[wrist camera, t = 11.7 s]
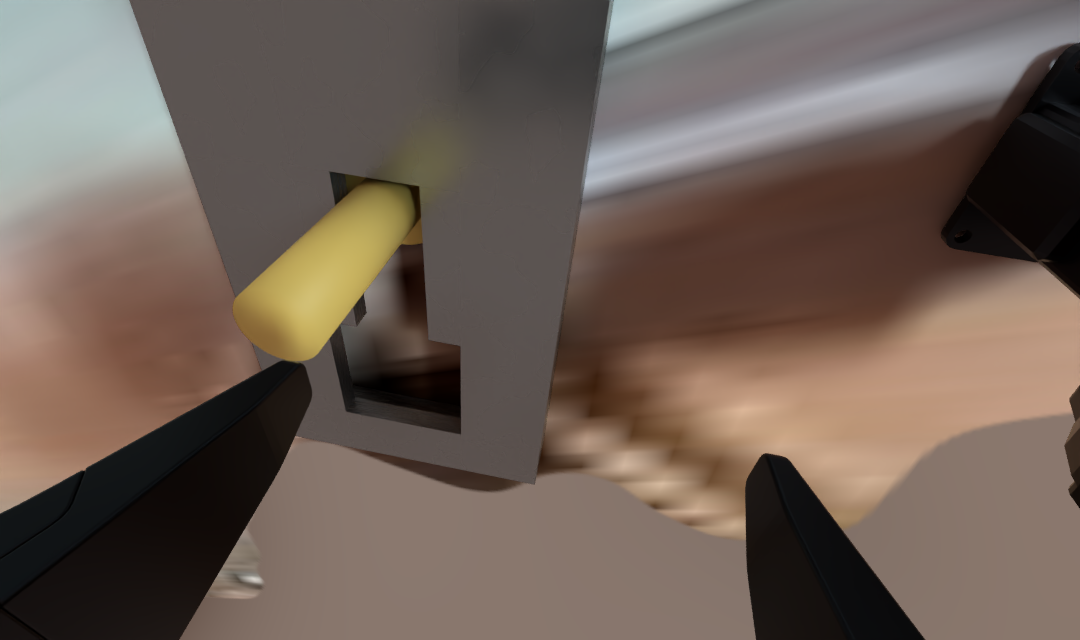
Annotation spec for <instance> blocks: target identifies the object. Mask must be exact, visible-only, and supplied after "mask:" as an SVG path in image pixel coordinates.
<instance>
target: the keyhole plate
mask: <svg viewBox="0 0 1080 640" xmlns="http://www.w3.org/2000/svg"><path fill="white" fill-rule="evenodd" d="M613 1H614V0H130V3H131V6H132V9H133V12H134V14H135V17H136V20H137V23H138V26H139V28H140V31H141V34H142V37H143V40H144V42H145V45H146V48H147V51H148V54H149V56H150V59H151V62H152V65H153V68H154V70H155V73H156V76H157V79H158V82H159V84H160V87H161V90H162V93H163V96H164V98H165V101H166V104H167V107H168V110H169V112H170V115H171V118H172V121H173V123H174V126H175V129H176V132H177V135H178V137H179V140H180V143H181V146H182V149H183V151H184V154H185V157H186V160H187V163H188V165H189V168H190V171H191V174H192V177H193V179H194V182H195V185H196V188H197V191H198V193H199V196H200V199H201V202H202V205H203V207H204V210H205V213H206V216H207V219H208V221H209V224H210V227H211V230H212V233H213V235H214V238H215V241H216V244H217V247H218V249H219V252H220V255H221V258H222V260H223V263H224V266H225V269H226V272H227V274H228V277H229V280H230V283H231V286H232V288H233V291H234V294H235V297H237V296H238V295H239V294H240V293H241V292H242V291H243V290H244V289H245V288H247V287H248V286H249V285H250V284H251V283H252V282H253V281H254V280H255V279H256V278H257V277H259V276H260V275H261V274H262V273H263V272H264V271H265V270H266V269H267V268H268V267H269V266H270V265H272V264H273V263H274V262H275V261H276V260H277V259H278V258H279V257H280V256H281V255H282V254H283V253H285V252H286V251H287V250H288V249H289V248H290V247H291V246H292V245H293V244H294V243H295V242H297V241H298V240H299V239H300V238H301V237H302V236H303V235H304V234H305V233H306V232H307V231H308V230H310V229H311V228H312V227H313V226H314V225H315V224H316V223H317V222H318V221H319V220H320V219H321V218H323V217H324V216H325V215H326V214H327V213H328V212H329V211H330V210H331V209H332V208H333V207H334V206H336V205H337V204H338V203H339V202H340V201H341V200H342V199H343V198H344V197H345V196H346V195H348V191H347V185H346V178H345V174H349V175H355V176H361V177H367V178H373V179H379V180H385V181H391V182H397V183H403V184H409V185H415V186H419V189H420V206H421V222H422V239H423V256H424V272H425V289H426V306H427V322H428V339H429V340H431V341H436V342H442V343H447V344H452V345H458V346H461V406H457V405H452V404H447V403H442V402H437V401H432V400H426V399H421V398H416V397H411V396H406V395H401V394H396V393H390V392H385V391H380V390H375V389H370V388H365V387H360V386H354V385H352V381H351V376H350V371H349V366H348V361H347V356H346V351H345V347H344V342H343V337H342V332H341V327H340V325H339V326H338V328H337V329H336V330H335V332H334V333H333V334H332V336H331V337H330V338H329V340H328V341H327V342H326V344H325V345H324V346H323V347H322V349H321V350H320V351H319V353H318V354H317V355H316V356H315V357H313V358H311V359H309V360H305V361H295V362H300V363H303V364H304V365H305V367H306V370H307V373H308V377H309V381H310V384H311V388H312V399H311V402H310V405H309V407H308V409H307V411H306V413H305V416H304V418H303V420H302V422H301V424H300V427H299V429H298V431H297V433H296V435H295V436H298V437H303V438H308V439H313V440H318V441H323V442H328V443H333V444H337V445H342V446H347V447H352V448H357V449H362V450H367V451H372V452H377V453H382V454H387V455H392V456H397V457H401V458H406V459H411V460H416V461H421V462H426V463H431V464H436V465H441V466H446V467H451V468H456V469H460V470H465V471H470V472H475V473H480V474H485V475H490V476H495V477H500V478H505V479H510V480H515V481H519V482H524V483H529V484H535V480H536V475H537V470H538V465H539V460H540V455H541V450H542V445H543V440H544V434H545V428H546V422H547V415H548V409H549V403H550V396H551V390H552V384H553V378H554V371H555V365H556V359H557V353H558V346H559V340H560V334H561V327H562V321H563V315H564V309H565V302H566V296H567V290H568V284H569V277H570V271H571V265H572V258H573V252H574V246H575V240H576V233H577V227H578V221H579V215H580V208H581V202H582V196H583V190H584V183H585V177H586V171H587V164H588V158H589V152H590V146H591V139H592V133H593V127H594V121H595V114H596V108H597V102H598V95H599V89H600V83H601V77H602V70H603V64H604V58H605V52H606V45H607V39H608V33H609V26H610V20H611V14H612V8H613ZM366 313H367V312H366V306H365V300H364V293H363V295H362V296H361V297H360V299H359V300H358V301H357V303H356V304H355V305H354V307H353V308H352V309H351V311H350V312H349V313H348V315H347V316H346V317H345V318H344V320H343V321H342V322H341V324H345V325H350V326H356V327H357V325H358V324H359V323H360V321H361V320H362V318H363V317H364V315H365V314H366ZM252 344H253V343H252ZM253 347H254V350H255V353H256V356H257V358H258V361H259V364H260V367H261V370H264V369H266V368H268V367H270V366H271V365H273V364H275V363H277V362H279V361H281V360H285V359H281V358H278V357H276V356H273V355H271V354H269V353H267V352H265V351H263V350H262V349H260V348H259V347H257V346H256V345H255V344H253Z"/></svg>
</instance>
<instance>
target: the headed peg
mask: <svg viewBox="0 0 1080 640" xmlns="http://www.w3.org/2000/svg"><path fill="white" fill-rule="evenodd" d="M345 178H346V185H347V191H348V195H346V196H345V197H344V198H343V199H342V200H341V201H340V202H339V203H338V204H337V205H336V206H334V207H333V208H332V209H331V210H330V211H329V212H328V213H327V214H326V215H325V216H324V217H323V218H321V219H320V220H319V221H318V222H317V223H316V224H315V225H314V226H313V227H312V228H311V229H310V230H308V231H307V232H306V233H305V234H304V235H303V236H302V237H301V238H300V239H299V240H298V241H297V242H295V243H294V244H293V245H292V246H291V247H290V248H289V249H288V250H287V251H286V252H285V253H283V254H282V255H281V256H280V257H279V258H278V259H277V260H276V261H275V262H274V263H273V264H272V265H270V266H269V267H268V268H267V269H266V270H265V271H264V272H263V273H262V274H261V275H260V276H259V277H257V278H256V279H255V280H254V281H253V282H252V283H251V284H250V285H249V286H248V287H247V288H245V289H244V290H243V291H242V292H241V293H240V294H239V295H238V296H237V297H236V298H235V300H234V303H233V315H234V319H235V321H236V323H237V325H238V327H239V328H240V330H241V331H242V333H243V334H244V335H245V336H246V337H247V338H248V339H249V340H250V341H251V342H252V343H253V344H255V345H256V346H257V347H259V348H260V349H262V350H263V351H265V352H267V353H269V354H271V355H273V356H276V357H278V358H281V359H285V360H290V361H305V360H309V359H311V358H313V357H315V356H316V355H317V354H318V353H319V351H320V350H321V349H322V347H323V346H324V345H325V344H326V342H327V341H328V340H329V338H330V337H331V336H332V334H333V333H334V332H335V330H336V329H337V328H338V326H339V325H340V324H341V322H342V321H343V320H344V318H345V317H346V316H347V315H348V313H349V312H350V311H351V309H352V308H353V307H354V305H355V304H356V303H357V301H358V300H359V299H360V297H361V296H362V295H363V293H364V292H365V291H366V289H367V288H368V287H369V286H370V284H371V283H372V282H373V280H374V279H375V278H376V276H377V275H378V274H379V272H380V271H381V270H382V268H383V267H384V266H385V264H386V263H387V262H388V260H389V259H390V258H391V257H392V255H393V254H394V253H395V251H396V250H397V249H398V247H399V246H400V245H401V244H405V245H414V244H420V243H423V239H422V222H421V206H420V189H419V186H415V185H409V184H403V183H397V182H391V181H385V180H379V179H373V178H367V177H361V176H355V175H349V174H345Z"/></svg>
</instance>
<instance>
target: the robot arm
mask: <svg viewBox="0 0 1080 640" xmlns="http://www.w3.org/2000/svg"><path fill="white" fill-rule="evenodd" d="M1079 59H1080V43H1077V44H1074V45H1073V46H1071V47H1070V48H1068V49H1067V50H1065V51H1064V52H1063V54H1062V55H1061V56H1060V57H1059V58H1058V60H1057V61H1056V62H1055V64H1054V65H1053V67H1052V68H1051V70H1050V71H1049V73H1048V74H1047V76H1046V77H1045V79H1044V80H1043V82H1042V83H1041V85H1040V86H1039V88H1038V89H1037V91H1036V92H1035V94H1034V95H1033V96H1032V98H1031V99H1030V101H1029V102H1028V104H1027V105H1026V107H1025V108H1024V110H1023V111H1022V113H1021V114H1020V116H1019V117H1017V118H1016V119H1015V120H1014V121H1013V122H1012V124H1011V125H1010V127H1009V128H1008V129H1007V131H1006V132H1005V134H1004V135H1003V137H1002V138H1001V140H1000V141H999V143H998V144H997V146H996V147H995V149H994V150H993V152H992V153H991V155H990V156H989V158H988V159H987V161H986V162H985V164H984V165H983V167H982V168H981V170H980V171H979V173H978V174H977V176H976V177H975V179H974V180H973V181H972V183H971V184H970V186H969V187H968V189H967V191H966V196H965V197H964V199H963V200H962V201H961V203H960V204H959V206H958V207H957V209H956V210H955V212H954V213H953V215H952V216H951V218H950V219H949V221H948V222H947V224H946V225H945V227H944V228H943V230H942V232H941V238H942V239H943V240H944V242H945V243H946V244H947V245H948V246H949V247H951V248H953V249H958V250H964V251H971V252H977V253H983V254H989V255H995V256H1002V257H1008V258H1014V259H1020V260H1026V261H1033V262H1039V263H1040V264H1041V265H1042V266H1043V267H1044V268H1046V269H1047V270H1048V271H1049V272H1050V273H1051V274H1052V275H1053V276H1055V277H1056V278H1057V279H1058V280H1059V281H1060V282H1061V283H1062V284H1064V285H1065V286H1066V287H1067V288H1068V289H1069V290H1070V291H1071V292H1072V293H1074V294H1075V295H1076V296H1077V297H1078V298H1079V299H1080V68H1078V69H1076V70H1075V68H1074V67H1075V65H1076V62H1077V61H1078V60H1079ZM963 230H966V232H965V233H964V234H963V235H962V236H959V237H955V235H956V234H957V233H958V232H960V231H963ZM311 399H312V388H311V384H310V381H309V377H308V373H307V370H306V367H305V365H304V364H303V363H300V362H295V361H290V360H281V361H279V362H277V363H275V364H273V365H271V366H270V367H268V368H266V369H264V370H262V371H260V372H259V373H257V374H255V375H253V376H251V377H250V378H248V379H246V380H244V381H242V382H241V383H239V384H237V385H235V386H233V387H232V388H230V389H228V390H226V391H224V392H223V393H221V394H219V395H217V396H215V397H214V398H212V399H210V400H208V401H206V402H204V403H203V404H201V405H199V406H197V407H195V408H194V409H192V410H190V411H188V412H186V413H185V414H183V415H181V416H179V417H177V418H176V419H174V420H172V421H170V422H168V423H167V424H165V425H163V426H161V427H159V428H158V429H156V430H154V431H152V432H150V433H148V434H147V435H145V436H143V437H141V438H139V439H138V440H136V441H134V442H132V443H130V444H129V445H127V446H125V447H123V448H121V449H120V450H118V451H116V452H114V453H112V454H111V455H109V456H107V457H105V458H103V459H102V460H100V461H98V462H96V463H94V464H92V465H91V466H89V467H87V468H86V470H85V471H80V472H78V473H76V474H74V475H72V476H71V477H69V478H67V479H65V480H63V481H62V482H60V483H58V484H56V485H54V486H52V487H50V488H49V489H47V490H45V491H43V492H41V493H39V494H37V495H35V496H34V497H32V498H30V499H28V500H26V501H24V502H22V503H20V504H19V505H17V506H15V507H12V508H10V509H8V510H6V511H4V512H2V513H0V640H179V639H180V637H181V636H182V634H183V632H184V630H185V629H186V627H187V626H188V624H189V622H190V621H191V619H192V617H193V615H194V614H195V612H196V610H197V609H198V607H199V605H200V604H201V602H202V600H203V599H204V597H205V595H206V594H207V592H208V590H209V589H210V587H211V585H212V583H213V582H214V580H215V578H216V577H217V575H218V573H219V572H220V570H221V568H222V567H223V565H224V563H225V562H226V560H227V558H228V556H229V555H230V553H231V551H232V550H233V548H234V546H235V545H236V543H237V541H238V540H239V538H240V536H241V534H242V533H243V531H244V529H245V528H246V526H247V524H248V523H249V521H250V519H251V518H252V516H253V514H254V513H255V511H256V509H257V507H258V506H259V504H260V502H261V501H262V499H263V497H264V496H265V494H266V492H267V491H268V489H269V487H270V486H271V484H272V482H273V480H274V479H275V477H276V475H277V473H278V472H279V470H280V468H281V466H282V464H283V462H284V459H285V457H286V455H287V453H288V451H289V449H290V447H291V444H292V442H293V440H294V438H295V435H296V433H297V431H298V429H299V427H300V424H301V422H302V420H303V418H304V416H305V413H306V411H307V409H308V407H309V405H310V402H311ZM1069 401H1070V404H1071V408H1072V411H1073V415H1074V418H1075V423H1074V425H1073V427H1072V429H1071V432H1070V434H1069V436H1068V439H1067V441H1066V443H1065V450H1066V454H1067V459H1068V463H1069V467H1070V472H1071V476H1072V477H1073V479H1074V482H1073V483H1072V484H1071V485H1070V487H1069V489H1068V490H1069V493H1070V496H1071V497H1072V498H1073V499H1074V501H1075V502H1076V504H1077V505H1078V506H1079V508H1080V386H1079V387H1078V388H1077V389H1076V391H1075V392H1074V393H1073V394H1072V396H1071V397H1070V400H1069ZM745 504H746V557H747V573H748V581H749V590H750V597H751V605H752V612H753V620H754V627H755V635H756V640H925V639H924V638H923V636H922V635H921V633H920V632H919V631H918V630H917V628H916V627H915V625H914V624H913V623H912V622H911V621H910V619H909V618H908V616H907V615H906V614H905V612H904V611H903V610H902V609H901V607H900V606H899V604H898V603H897V602H896V600H895V599H894V598H893V597H892V595H891V594H890V593H889V591H888V590H887V588H886V587H885V586H884V585H883V583H882V582H881V581H880V579H879V578H878V577H877V575H876V574H875V573H874V571H873V570H872V569H871V567H870V566H869V565H868V563H867V562H866V561H865V559H864V558H863V557H862V556H861V554H860V553H859V551H858V550H857V549H856V548H855V546H854V545H853V544H852V542H851V541H850V540H849V538H848V537H847V536H846V534H845V533H844V532H843V530H842V529H841V528H840V526H839V525H838V524H837V522H836V521H835V520H834V518H833V517H832V516H831V514H830V513H829V512H828V511H827V509H826V508H825V507H824V505H823V504H822V503H821V501H820V500H819V499H818V497H817V496H816V495H815V493H814V492H813V491H812V489H811V488H810V487H809V485H808V484H807V483H806V481H805V480H804V479H803V478H802V476H801V475H800V474H799V472H798V471H797V470H796V468H795V467H794V466H793V464H792V463H791V462H790V461H789V460H788V459H787V458H786V457H783V456H779V455H773V454H768V453H765V454H763V455H762V456H761V457H760V458H759V460H758V461H757V463H756V465H755V466H754V468H753V469H752V471H751V473H750V474H749V476H748V478H747V481H746V486H745Z"/></svg>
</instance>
